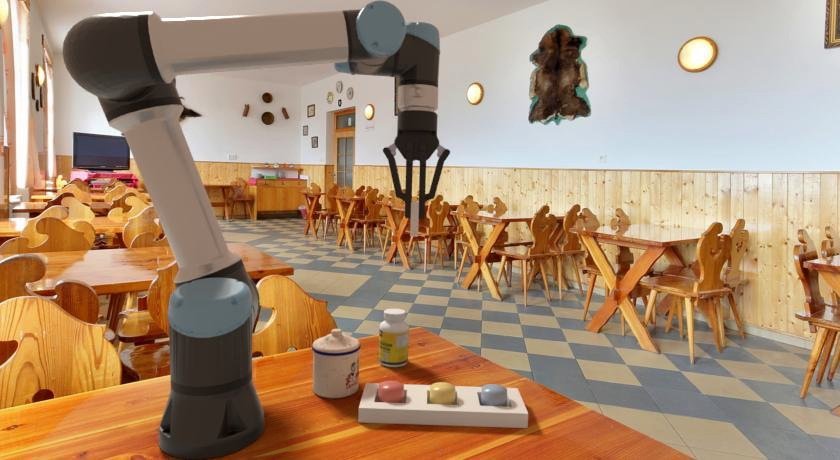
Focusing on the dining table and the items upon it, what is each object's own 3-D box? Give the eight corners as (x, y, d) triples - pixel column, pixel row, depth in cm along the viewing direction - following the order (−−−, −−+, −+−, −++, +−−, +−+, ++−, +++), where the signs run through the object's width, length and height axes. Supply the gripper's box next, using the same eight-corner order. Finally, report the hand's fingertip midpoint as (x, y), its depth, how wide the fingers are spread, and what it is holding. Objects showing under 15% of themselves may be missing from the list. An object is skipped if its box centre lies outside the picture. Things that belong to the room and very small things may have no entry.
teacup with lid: (355, 400, 91) (356, 338, 89) (306, 398, 91) (306, 336, 90) (365, 374, 102) (366, 319, 101) (321, 373, 103) (321, 317, 101)
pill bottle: (375, 358, 112) (376, 308, 110) (403, 356, 113) (404, 306, 112) (382, 369, 105) (383, 316, 104) (411, 367, 107) (413, 314, 106)
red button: (377, 410, 85) (377, 390, 85) (379, 399, 90) (379, 380, 89) (402, 411, 85) (403, 391, 85) (403, 400, 90) (404, 380, 89)
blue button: (482, 414, 85) (483, 394, 85) (479, 402, 89) (480, 383, 89) (508, 415, 85) (509, 395, 85) (504, 403, 89) (505, 384, 89)
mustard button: (429, 412, 85) (430, 392, 85) (429, 401, 90) (430, 381, 89) (455, 413, 85) (456, 393, 85) (453, 401, 90) (454, 382, 89)
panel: (358, 422, 83) (358, 407, 82) (365, 395, 93) (365, 382, 92) (527, 428, 82) (528, 413, 82) (516, 401, 92) (517, 388, 92)
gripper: (381, 107, 90) (378, 237, 93) (453, 109, 90) (448, 239, 93) (384, 112, 98) (382, 232, 100) (451, 114, 97) (447, 234, 100)
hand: (414, 235), depth 96 cm, fingers closed
